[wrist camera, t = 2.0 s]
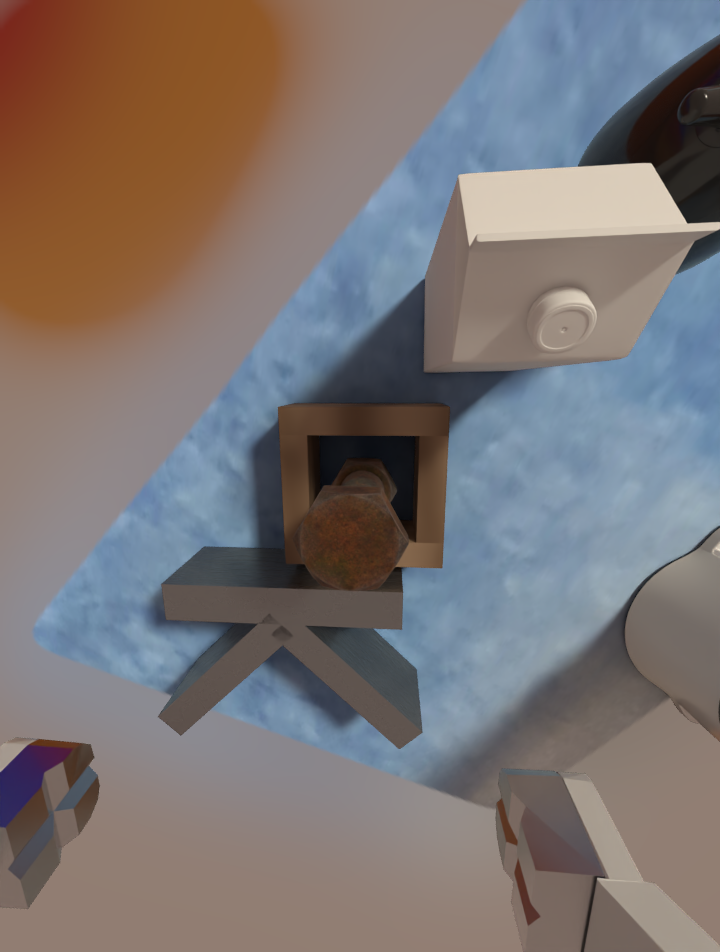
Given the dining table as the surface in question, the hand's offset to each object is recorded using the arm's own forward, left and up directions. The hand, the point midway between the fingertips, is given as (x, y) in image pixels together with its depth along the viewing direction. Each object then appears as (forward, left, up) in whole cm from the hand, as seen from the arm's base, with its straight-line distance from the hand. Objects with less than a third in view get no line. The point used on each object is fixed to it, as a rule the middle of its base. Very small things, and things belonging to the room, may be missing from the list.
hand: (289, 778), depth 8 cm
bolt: (0, 0, -27) cm, 27 cm away
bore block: (0, 0, -27) cm, 27 cm away
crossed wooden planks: (+6, +14, -27) cm, 31 cm away
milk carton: (-8, -12, -27) cm, 31 cm away
